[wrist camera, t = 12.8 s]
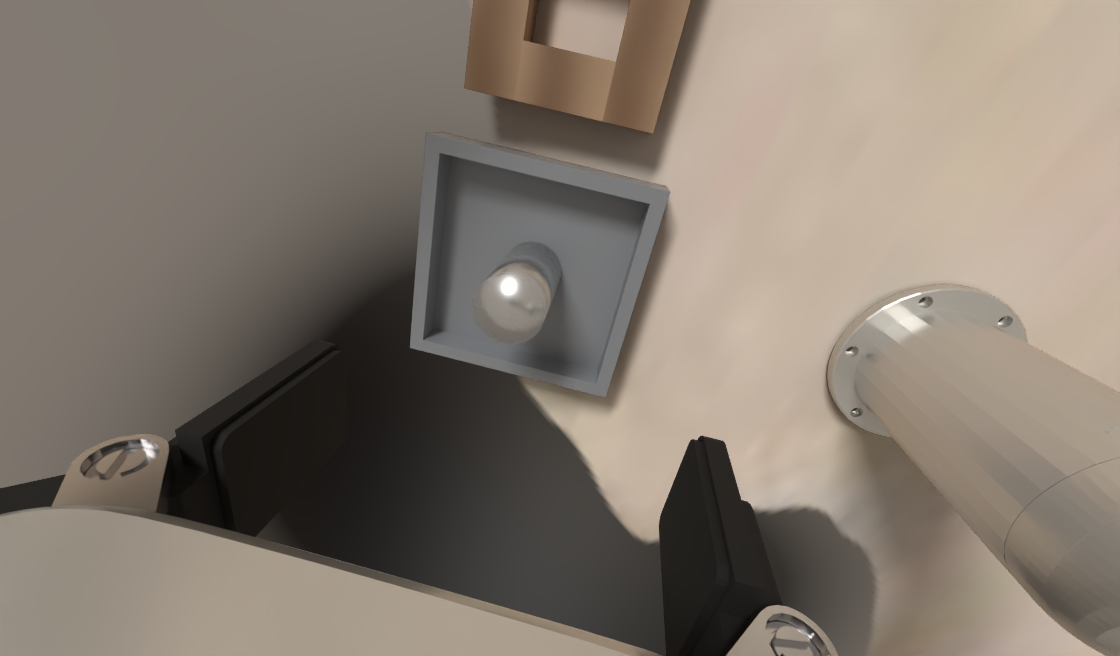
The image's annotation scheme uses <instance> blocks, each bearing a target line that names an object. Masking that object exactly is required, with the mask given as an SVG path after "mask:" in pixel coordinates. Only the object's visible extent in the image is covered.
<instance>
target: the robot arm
mask: <svg viewBox="0 0 1120 656" xmlns="http://www.w3.org/2000/svg"><path fill="white" fill-rule="evenodd" d="M827 378H828V388H829V390H830V393H831V396H832V398H833V400H834V402H835V403H836V404H837V406H838V407H839V409H840V410H841V411H842V413H843V414H844V415H845V416H846V417H847V418H848V419H849V420H850V421H851V422H853V423H854V424H856V425H857V426H858V427H860V428H862V429H864V430H866V431H869V432H871V433H873V434H877V435H881V436H885V437H890V438H893V439H894V440H895V441H896V442H897V444H898V445H899V446H900V447H901V448H902V449H903V451H904V452H905V453H906V454H907V455H908V456H909V458H910V459H911V460H912V461H913V462H914V463H915V464H916V466H917V467H918V468H919V469H920V470H921V471H922V473H923V474H924V475H925V476H926V477H927V478H928V479H929V481H930V482H931V483H932V484H933V485H934V486H935V488H936V489H937V490H938V491H939V492H940V493H941V495H942V496H943V497H944V498H945V499H946V500H947V501H948V503H949V504H950V505H951V506H952V507H953V508H954V510H955V511H956V512H957V513H958V514H959V515H960V516H961V518H962V519H963V520H964V521H965V522H966V523H967V525H968V526H969V527H970V528H971V529H972V530H973V532H974V533H975V534H976V535H977V536H978V537H979V538H980V540H981V541H982V542H983V543H984V544H985V545H986V547H987V548H988V549H989V550H990V551H991V552H992V553H993V554H994V556H995V557H996V558H997V559H998V560H999V561H1000V563H1001V564H1002V565H1003V566H1004V567H1005V568H1006V569H1007V570H1008V571H1009V572H1010V574H1011V575H1012V576H1013V577H1014V578H1015V579H1016V580H1017V582H1018V583H1019V584H1020V585H1021V586H1022V587H1023V588H1024V590H1025V591H1026V592H1027V593H1028V594H1029V595H1030V596H1031V598H1032V599H1033V600H1034V601H1035V602H1036V603H1037V604H1038V605H1039V606H1040V607H1041V608H1042V609H1043V610H1044V611H1045V612H1046V613H1047V614H1048V615H1049V616H1050V617H1051V618H1052V619H1053V620H1054V621H1055V622H1057V623H1058V624H1059V625H1060V626H1061V627H1062V628H1064V629H1065V630H1066V631H1067V632H1069V633H1070V634H1072V635H1073V636H1074V637H1076V638H1077V639H1079V640H1080V641H1082V642H1083V643H1085V644H1086V645H1088V646H1089V647H1091V648H1093V649H1094V650H1096V651H1098V652H1100V653H1102V654H1104V655H1105V656H1120V392H1118V391H1116V390H1114V389H1112V388H1111V387H1109V386H1107V385H1105V384H1103V383H1101V382H1099V381H1097V380H1096V379H1094V378H1092V377H1090V376H1088V375H1086V374H1084V373H1082V372H1081V371H1079V370H1077V369H1075V368H1073V367H1071V366H1069V365H1067V364H1066V363H1064V362H1062V361H1060V360H1058V359H1056V358H1054V357H1052V356H1051V355H1049V354H1047V353H1045V352H1043V351H1041V350H1039V349H1038V348H1036V347H1034V346H1032V345H1030V344H1028V341H1027V336H1026V330H1025V328H1024V326H1023V324H1022V322H1021V320H1020V318H1019V316H1018V315H1017V314H1016V313H1015V312H1014V311H1013V310H1012V309H1011V308H1010V307H1009V306H1008V305H1007V304H1005V303H1004V302H1002V301H1000V300H999V299H997V298H996V297H994V296H991V295H989V294H987V293H985V292H982V291H980V290H977V289H973V288H969V287H965V286H961V285H944V284H941V285H931V286H922V287H918V288H914V289H911V290H907V291H903V292H901V293H898V294H896V295H893V296H891V297H889V298H886V299H884V300H882V301H881V302H879V303H877V304H876V305H874V306H872V307H871V308H869V309H868V310H866V311H865V312H864V313H863V314H862V315H860V316H859V317H858V318H857V319H855V320H854V321H853V322H852V323H851V325H850V326H849V327H848V328H847V329H846V330H845V331H844V332H843V334H842V335H841V337H840V338H839V340H838V342H837V343H836V345H835V347H834V349H833V352H832V354H831V357H830V360H829V364H828V371H827ZM175 432H176V437H175V438H173V439H172V440H170V441H169V442H167V441H166V440H165V439H163V438H161V437H158V436H156V435H146V434H140V435H139V434H138V435H128V436H124V437H119V438H115V439H112V440H109V441H106V442H104V443H100V444H98V445H96V446H94V447H92V448H90V449H89V450H87V451H85V452H84V453H82V454H81V455H80V456H78V458H76V459H75V460H74V461H73V463H72V464H71V465H70V467H69V469H68V471H67V473H66V474H65V475H60V476H56V477H51V478H47V479H42V480H37V481H33V482H29V483H24V484H19V485H15V486H10V487H6V488H0V656H662V655H659V654H657V653H654V652H651V651H648V650H645V649H642V648H639V647H635V646H632V645H629V644H626V643H623V642H619V641H616V640H613V639H610V638H606V637H603V636H600V635H597V634H593V633H590V632H587V631H584V630H580V629H577V628H574V627H570V626H567V625H563V624H560V623H556V622H553V621H550V620H546V619H543V618H539V617H536V616H532V615H529V614H525V613H522V612H518V611H515V610H512V609H508V608H505V607H501V606H498V605H494V604H491V603H487V602H484V601H480V600H477V599H473V598H470V597H467V596H463V595H459V594H456V593H452V592H449V591H445V590H442V589H438V588H435V587H431V586H428V585H424V584H420V583H417V582H414V581H410V580H407V579H403V578H399V577H396V576H392V575H388V574H385V573H382V572H378V571H374V570H371V569H368V568H364V567H360V566H357V565H353V564H350V563H346V562H343V561H339V560H335V559H332V558H328V557H325V556H321V555H317V554H314V553H310V552H306V551H303V550H299V549H296V548H292V547H288V546H285V545H281V544H278V543H273V542H270V541H267V540H263V539H260V538H256V537H255V536H256V535H257V534H258V533H259V532H260V531H261V530H262V529H263V528H264V527H265V526H266V525H267V524H268V523H269V522H270V521H271V519H272V518H273V517H274V516H275V515H276V514H277V513H278V512H279V511H280V510H281V509H282V508H283V507H284V506H285V505H286V504H287V502H288V501H289V500H290V499H291V498H292V497H293V496H294V495H295V494H296V493H297V492H298V491H299V489H301V488H302V487H303V485H304V484H305V483H306V482H307V481H308V480H309V479H310V478H311V477H312V476H313V475H314V474H315V473H316V472H317V471H318V470H319V468H320V467H321V466H322V465H323V464H324V463H325V462H326V461H327V460H328V459H329V458H330V457H331V456H332V455H333V454H334V453H335V451H336V450H337V449H338V448H339V447H340V446H341V445H342V444H343V442H344V441H345V439H346V436H347V432H348V425H347V388H346V357H345V354H344V352H342V351H341V349H340V347H339V346H338V345H336V344H332V343H328V342H324V341H320V340H314V341H312V342H311V343H309V344H307V345H306V346H304V347H303V348H301V349H300V350H298V351H297V352H295V353H293V354H292V355H290V356H289V357H287V358H286V359H284V360H283V361H281V362H280V363H278V364H276V365H275V366H273V367H272V368H270V369H269V370H267V371H266V372H264V373H263V374H261V375H260V376H258V377H256V378H255V379H253V380H252V381H250V382H249V383H247V384H246V385H244V386H243V387H241V388H239V389H238V390H236V391H235V392H233V393H232V394H230V395H229V396H227V397H225V398H224V399H222V400H221V401H219V402H218V403H216V404H215V405H213V406H212V407H210V408H208V409H207V410H205V411H204V412H202V413H201V414H199V415H198V416H196V417H195V418H193V419H192V420H190V421H188V422H187V423H185V424H184V425H182V426H181V427H179V428H178V429H176V430H175ZM659 537H660V554H661V570H662V588H663V606H664V622H665V640H666V656H838V654H837V652H836V650H835V647H834V646H833V644H832V643H831V641H830V640H829V638H828V637H827V636H826V634H825V633H824V632H823V631H822V630H821V629H820V628H819V627H818V626H817V625H816V624H815V623H814V622H813V621H812V620H810V619H809V618H807V617H806V616H805V615H803V614H802V613H800V612H798V611H796V610H793V609H792V608H789V607H785V606H783V605H782V602H781V599H780V596H779V592H778V589H777V586H776V583H775V579H774V576H773V573H772V570H771V566H770V564H769V560H768V557H767V553H766V550H765V547H764V544H763V541H762V537H761V534H760V531H759V528H758V524H757V521H756V518H755V515H754V511H753V509H752V507H751V505H750V504H749V503H748V502H746V501H743V500H741V497H740V494H739V490H738V487H737V483H736V480H735V476H734V473H733V469H732V466H731V462H730V459H729V455H728V452H727V448H726V445H725V443H724V442H723V441H721V440H717V439H713V438H709V437H705V436H700V437H699V438H698V440H693V439H692V440H691V441H690V442H689V445H688V447H687V450H686V452H685V455H684V457H683V460H682V462H681V465H680V467H679V470H678V472H677V475H676V477H675V480H674V482H673V485H672V488H671V490H670V493H669V495H668V498H667V500H666V503H665V505H664V508H663V510H662V513H661V516H660V521H659Z"/></svg>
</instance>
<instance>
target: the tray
mask: <svg viewBox="0 0 1120 656" xmlns="http://www.w3.org/2000/svg"><path fill="white" fill-rule="evenodd" d="M669 194H670V191H669V190H668V188H667V187H666V186H663V185H659V184H655V183H651V182H647V181H642V180H638V179H634V178H630V177H626V176H622V175H618V174H614V173H609V172H605V171H601V170H597V169H593V168H589V167H585V166H581V165H576V164H572V163H568V162H564V161H560V160H556V159H552V158H548V157H543V156H539V155H535V154H531V153H527V152H523V151H519V150H515V149H510V148H506V147H502V146H498V145H494V144H490V143H485V142H482V141H477V140H473V139H469V138H465V137H461V136H457V135H452V134H449V133H444V132H434V133H433V132H432V133H426V138H425V152H424V166H423V178H422V192H421V205H420V219H419V233H418V246H417V259H416V272H415V286H414V300H413V313H412V326H411V341H410V348H413V349H417V350H421V351H425V352H429V353H433V354H437V355H440V356H444V357H448V358H452V359H456V360H460V361H464V362H468V363H472V364H476V365H480V366H484V367H487V368H491V369H495V370H499V371H503V372H507V373H511V374H515V375H519V376H523V377H526V378H530V379H534V380H538V381H542V382H546V383H550V384H554V385H558V386H562V387H566V388H570V389H573V390H577V391H581V392H585V393H589V394H593V395H597V396H601V397H605V398H606V395H607V391H608V388H609V385H610V382H611V379H612V376H613V372H614V369H615V366H616V363H617V360H618V356H619V353H620V350H621V347H622V344H623V341H624V337H625V334H626V331H627V328H628V325H629V321H630V318H631V315H632V312H633V309H634V306H635V302H636V299H637V296H638V293H639V290H640V286H641V283H642V280H643V277H644V274H645V271H646V267H647V264H648V261H649V258H650V255H651V252H652V248H653V245H654V242H655V239H656V236H657V232H658V229H659V226H660V223H661V220H662V217H663V213H664V210H665V207H666V204H667V201H668V197H669ZM525 242H538V243H541V244H543V245H546V246H547V247H549V248H550V249H551V250H552V251H553V252H554V253H555V254H556V255H557V257H558V259H559V261H560V264H561V270H562V274H561V279H560V282H559V284H558V287H557V290H556V292H555V295H554V297H553V300H552V302H551V305H550V307H549V310H548V312H547V315H546V318H545V320H544V323H543V325H542V327H541V329H540V331H539V332H538V333H537V334H536V335H535V336H534V337H533V338H531V339H530V340H528V341H526V342H523V343H519V344H506V343H501V342H498V341H496V340H494V339H492V338H490V337H489V336H487V335H486V334H485V333H484V332H483V331H482V330H481V329H480V327H479V326H478V324H477V323H476V321H475V318H474V315H473V310H472V302H473V298H474V295H475V293H476V291H477V289H478V288H479V287H480V285H481V284H482V283H483V282H484V281H485V280H486V279H487V277H488V276H489V275H490V274H491V273H492V272H493V270H494V269H495V268H496V267H497V266H498V265H499V264H500V262H501V261H502V260H503V259H504V258H505V257H506V256H507V254H508V253H509V252H510V251H511V250H512V249H513V248H514V247H515V246H517V245H519V244H521V243H525Z"/></svg>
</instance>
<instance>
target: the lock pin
mask: <svg viewBox="0 0 1120 656" xmlns="http://www.w3.org/2000/svg"><path fill="white" fill-rule="evenodd" d="M561 274H562V270H561V264H560V261H559V259H558V257H557V255H556V254H555V253H554V252H553V251H552V250H551V249H550V248H549V247H547V246H546V245H543V244H541V243H538V242H525V243H521V244H519V245H517V246H515V247H514V248H513V249H512V250H511V251H510V252H509V253H508V254H507V256H506V257H505V258H504V259H503V260H502V261H501V262H500V264H499V265H498V266H497V267H496V268H495V269H494V270H493V272H492V273H491V274H490V275H489V276H488V277H487V279H486V280H485V281H484V282H483V283H482V284H481V285H480V287H479V288H478V289H477V291H476V293H475V295H474V298H473V302H472V310H473V315H474V318H475V321H476V323H477V324H478V326H479V327H480V329H481V330H482V331H483V332H484V333H485V334H486V335H487V336H489V337H490V338H492V339H494V340H496V341H498V342H501V343H506V344H519V343H523V342H526V341H528V340H530V339H531V338H533V337H534V336H535V335H536V334H537V333H538V332H539V331H540V329H541V327H542V325H543V323H544V320H545V318H546V315H547V312H548V310H549V307H550V305H551V302H552V300H553V297H554V295H555V292H556V290H557V287H558V284H559V282H560V279H561Z"/></svg>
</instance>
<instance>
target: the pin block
mask: <svg viewBox="0 0 1120 656" xmlns="http://www.w3.org/2000/svg"><path fill="white" fill-rule="evenodd" d="M690 1H691V0H631V1H630V5H629V9H628V13H627V18H626V22H625V26H624V31H623V35H622V39H621V43H620V48H619V52H618V56H617V61H616V62H613V61H609V60H605V59H601V58H596V57H592V56H588V55H584V54H579V53H575V52H571V51H567V50H562V49H558V48H554V47H550V46H545V45H541V44H537V43H533V42H532V38H533V32H534V25H535V19H536V13H537V6H538V0H473V8H472V18H471V27H470V37H469V46H468V56H467V65H466V75H465V85H464V88H465V89H469V90H473V91H477V92H481V93H486V94H490V95H494V96H498V97H502V98H506V99H511V100H515V101H519V102H523V103H527V104H531V105H536V106H540V107H544V108H548V109H552V110H556V111H561V112H565V113H569V114H573V115H577V116H582V117H586V118H590V119H594V120H598V121H602V122H607V123H611V124H615V125H619V126H623V127H627V128H632V129H636V130H640V131H644V132H648V133H653V132H654V129H655V125H656V122H657V118H658V115H659V111H660V107H661V104H662V100H663V97H664V93H665V90H666V86H667V83H668V79H669V76H670V72H671V68H672V65H673V61H674V58H675V54H676V51H677V47H678V44H679V40H680V37H681V33H682V30H683V26H684V22H685V19H686V15H687V12H688V8H689V5H690Z"/></svg>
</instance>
